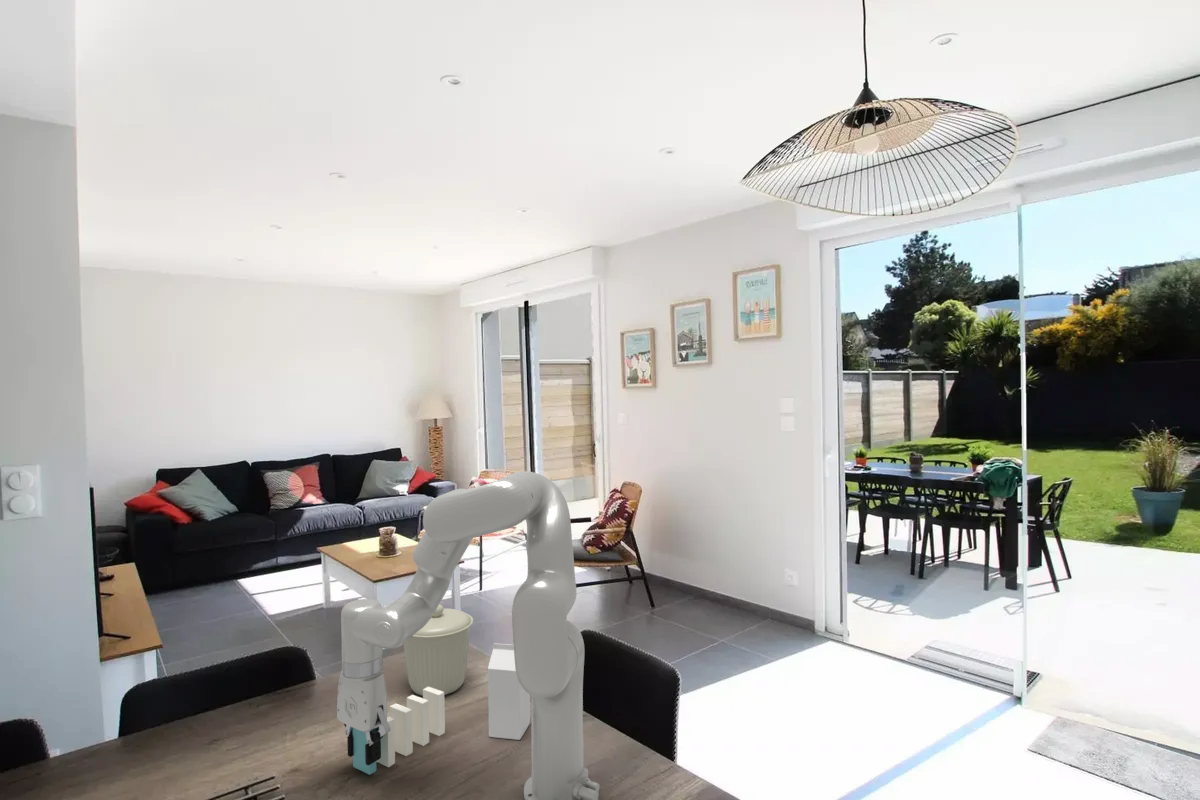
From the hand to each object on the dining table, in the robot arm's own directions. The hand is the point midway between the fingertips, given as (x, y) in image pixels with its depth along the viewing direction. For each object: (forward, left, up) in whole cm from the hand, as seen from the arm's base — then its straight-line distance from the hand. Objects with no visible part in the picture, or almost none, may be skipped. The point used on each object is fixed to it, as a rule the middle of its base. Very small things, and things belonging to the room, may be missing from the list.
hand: (364, 756), depth 127 cm
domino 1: (0, 0, -2) cm, 2 cm away
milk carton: (-14, -27, -3) cm, 31 cm away
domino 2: (0, -5, -3) cm, 6 cm away
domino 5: (0, -18, -3) cm, 18 cm away
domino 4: (0, -14, -3) cm, 14 cm away
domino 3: (0, -9, -3) cm, 10 cm away
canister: (+15, -33, -3) cm, 36 cm away
